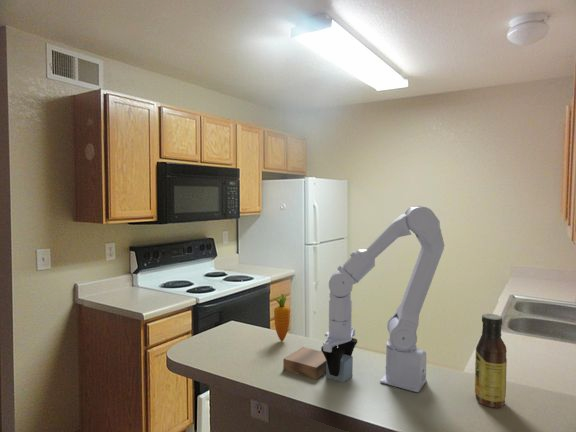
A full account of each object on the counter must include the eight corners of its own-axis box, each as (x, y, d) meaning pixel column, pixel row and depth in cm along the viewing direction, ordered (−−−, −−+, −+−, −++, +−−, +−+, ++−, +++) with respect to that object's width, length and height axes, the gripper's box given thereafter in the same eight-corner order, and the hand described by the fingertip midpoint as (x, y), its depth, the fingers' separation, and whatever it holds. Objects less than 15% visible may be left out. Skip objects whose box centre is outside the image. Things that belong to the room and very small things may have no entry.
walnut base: (334, 365, 110) (334, 354, 110) (316, 379, 101) (316, 367, 101) (302, 357, 115) (302, 346, 115) (283, 369, 107) (283, 358, 107)
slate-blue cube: (352, 375, 104) (352, 356, 104) (344, 382, 100) (344, 362, 100) (335, 370, 107) (335, 352, 107) (326, 377, 103) (326, 358, 102)
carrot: (283, 345, 124) (283, 297, 123) (270, 341, 127) (271, 295, 126) (292, 340, 128) (293, 294, 127) (280, 337, 131) (280, 292, 130)
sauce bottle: (478, 392, 95) (481, 309, 94) (508, 401, 91) (511, 314, 90) (470, 403, 90) (473, 316, 89) (501, 413, 86) (504, 321, 85)
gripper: (338, 309, 111) (337, 357, 111) (312, 323, 99) (311, 377, 99) (362, 313, 107) (361, 363, 108) (338, 328, 95) (337, 384, 96)
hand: (339, 370), depth 103 cm, fingers open, 6 cm apart
